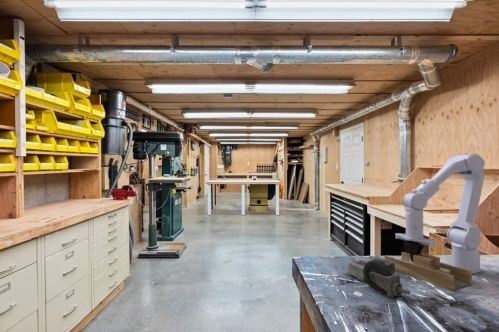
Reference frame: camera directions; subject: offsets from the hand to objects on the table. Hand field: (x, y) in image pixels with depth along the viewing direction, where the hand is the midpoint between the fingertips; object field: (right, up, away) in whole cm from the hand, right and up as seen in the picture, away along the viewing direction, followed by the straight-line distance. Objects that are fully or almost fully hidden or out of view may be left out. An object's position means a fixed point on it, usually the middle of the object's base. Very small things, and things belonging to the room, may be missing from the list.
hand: (414, 261), depth 110 cm
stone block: (-18, -4, -3) cm, 19 cm away
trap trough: (+2, -4, -3) cm, 5 cm away
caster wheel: (-19, -4, -18) cm, 26 cm away
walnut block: (+2, -1, -4) cm, 5 cm away
